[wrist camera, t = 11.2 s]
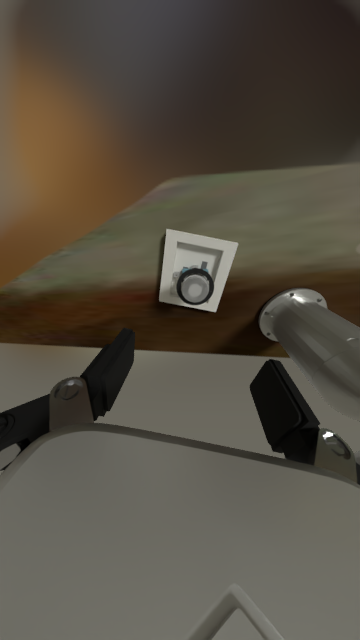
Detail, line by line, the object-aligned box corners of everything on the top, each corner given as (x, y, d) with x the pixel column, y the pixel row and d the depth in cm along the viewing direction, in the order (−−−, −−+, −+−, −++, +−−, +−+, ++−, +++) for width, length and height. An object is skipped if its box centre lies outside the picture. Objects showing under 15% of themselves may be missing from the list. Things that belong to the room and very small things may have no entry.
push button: (174, 286, 31) (166, 306, 22) (174, 258, 28) (165, 269, 20) (207, 287, 31) (212, 308, 22) (210, 258, 28) (217, 271, 19)
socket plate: (235, 242, 27) (238, 243, 25) (214, 307, 33) (215, 312, 32) (168, 229, 27) (166, 228, 25) (160, 297, 33) (158, 301, 31)
